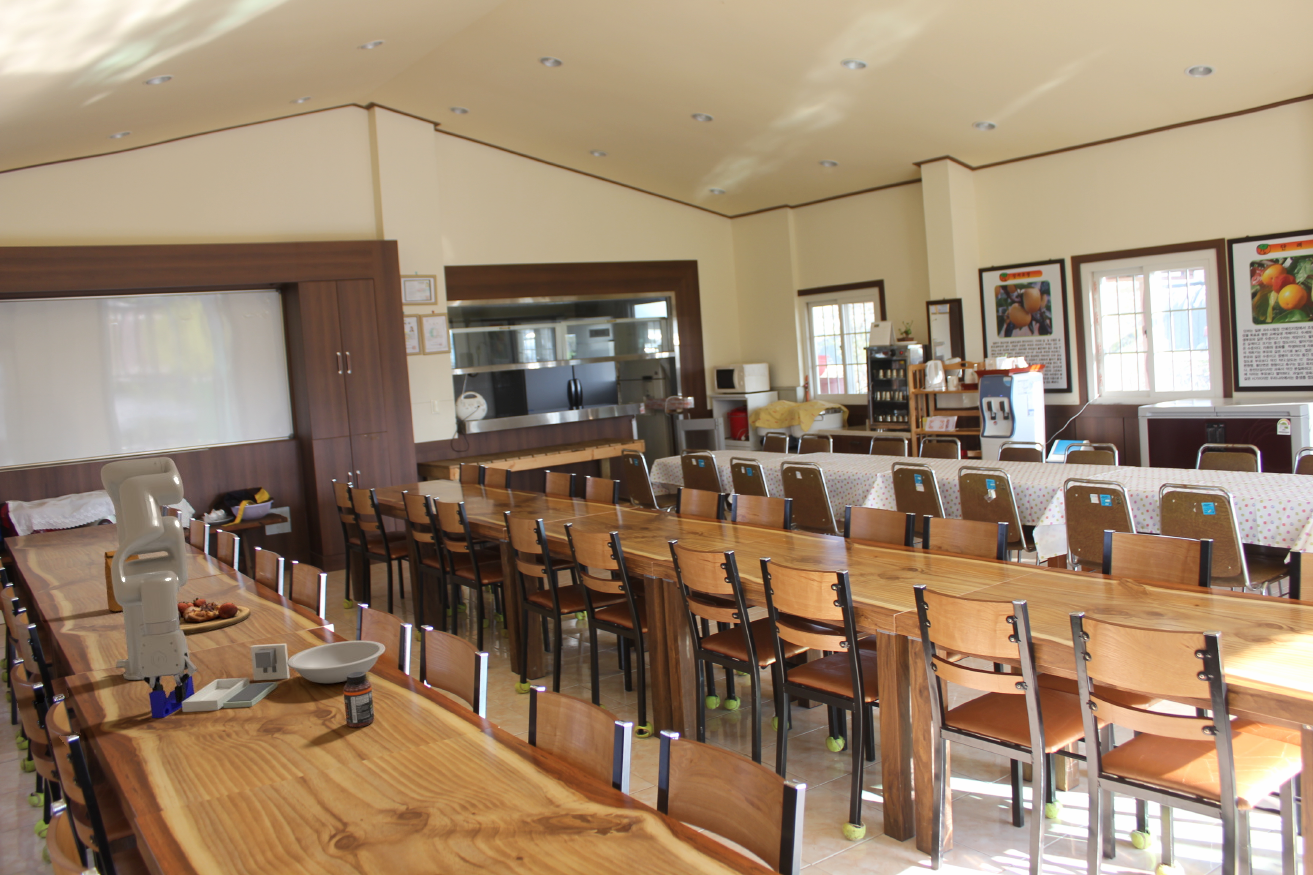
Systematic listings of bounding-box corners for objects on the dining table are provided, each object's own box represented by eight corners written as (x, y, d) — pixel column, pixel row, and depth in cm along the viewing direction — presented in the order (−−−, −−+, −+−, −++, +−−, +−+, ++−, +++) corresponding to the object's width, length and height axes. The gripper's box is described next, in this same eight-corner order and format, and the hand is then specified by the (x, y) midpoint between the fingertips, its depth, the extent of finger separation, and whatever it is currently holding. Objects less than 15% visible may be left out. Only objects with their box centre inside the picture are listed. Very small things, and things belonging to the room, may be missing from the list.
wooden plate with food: (270, 616, 320) (268, 591, 319) (179, 640, 293) (176, 614, 293) (216, 609, 337) (213, 586, 337) (125, 632, 311) (122, 607, 310)
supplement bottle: (345, 721, 213) (340, 672, 212) (372, 716, 215) (368, 667, 215) (347, 730, 208) (343, 679, 207) (376, 724, 210) (371, 674, 209)
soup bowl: (405, 666, 252) (403, 641, 252) (348, 697, 230) (346, 670, 229) (330, 662, 260) (328, 638, 260) (268, 692, 238) (266, 666, 237)
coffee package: (151, 607, 344) (145, 547, 342) (112, 614, 336) (106, 553, 334) (144, 603, 352) (138, 544, 350) (106, 610, 343) (99, 550, 342)
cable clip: (178, 699, 236) (175, 676, 236) (195, 699, 235) (191, 675, 235) (146, 718, 224) (143, 693, 224) (163, 717, 223) (160, 692, 223)
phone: (223, 707, 228) (223, 702, 228) (250, 688, 242) (249, 682, 242) (252, 706, 227) (251, 700, 227) (277, 686, 241) (276, 681, 241)
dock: (182, 711, 227) (181, 702, 227) (216, 688, 243) (216, 679, 243) (218, 709, 226) (217, 700, 226) (249, 686, 243) (248, 677, 243)
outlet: (248, 684, 245) (244, 650, 244) (256, 678, 249) (252, 645, 249) (282, 682, 245) (279, 648, 244) (289, 676, 249) (286, 643, 248)
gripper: (118, 633, 225) (126, 709, 226) (188, 628, 224) (196, 704, 225) (136, 625, 232) (144, 699, 233) (204, 620, 232) (212, 694, 233)
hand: (170, 700), depth 229 cm, fingers closed on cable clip, 4 cm apart
